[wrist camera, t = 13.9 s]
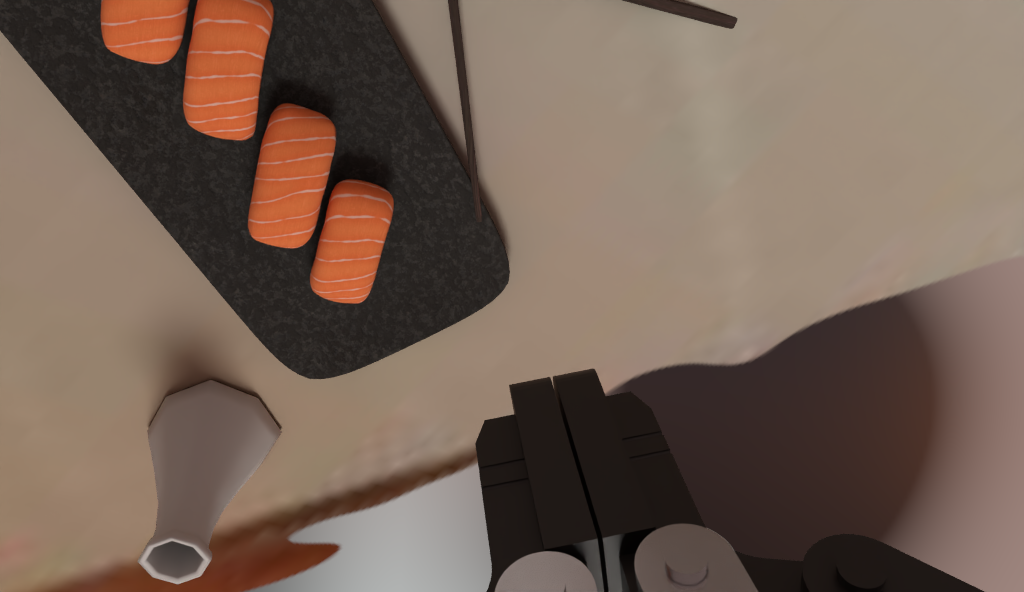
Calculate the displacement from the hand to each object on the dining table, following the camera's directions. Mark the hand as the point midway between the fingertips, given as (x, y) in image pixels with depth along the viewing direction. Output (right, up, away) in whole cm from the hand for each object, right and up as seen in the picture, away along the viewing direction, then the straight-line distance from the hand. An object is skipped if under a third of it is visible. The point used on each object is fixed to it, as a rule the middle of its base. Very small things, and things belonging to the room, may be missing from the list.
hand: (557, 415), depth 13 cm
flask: (-19, -6, +32) cm, 38 cm away
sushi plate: (-6, +15, +23) cm, 28 cm away
